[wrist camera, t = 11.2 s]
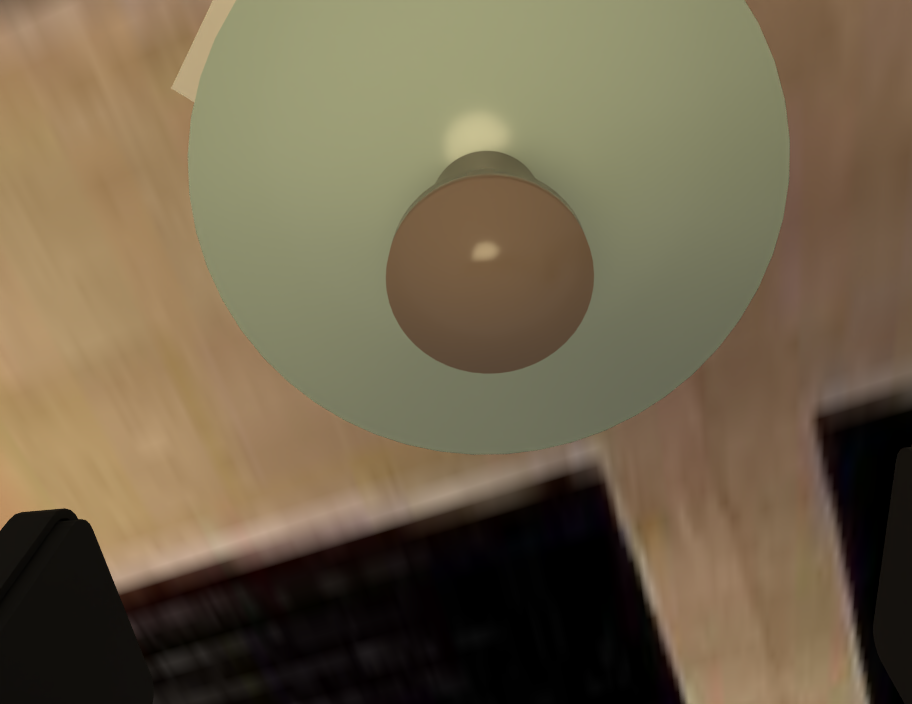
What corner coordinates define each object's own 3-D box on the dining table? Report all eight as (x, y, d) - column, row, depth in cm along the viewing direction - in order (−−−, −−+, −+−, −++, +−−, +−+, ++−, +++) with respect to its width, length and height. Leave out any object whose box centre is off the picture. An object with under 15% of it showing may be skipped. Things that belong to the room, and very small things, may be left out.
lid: (905, 104, 22) (1056, 165, 16) (555, 513, 28) (575, 661, 23) (378, -294, 18) (335, -393, 13) (111, 277, 25) (2, 382, 19)
